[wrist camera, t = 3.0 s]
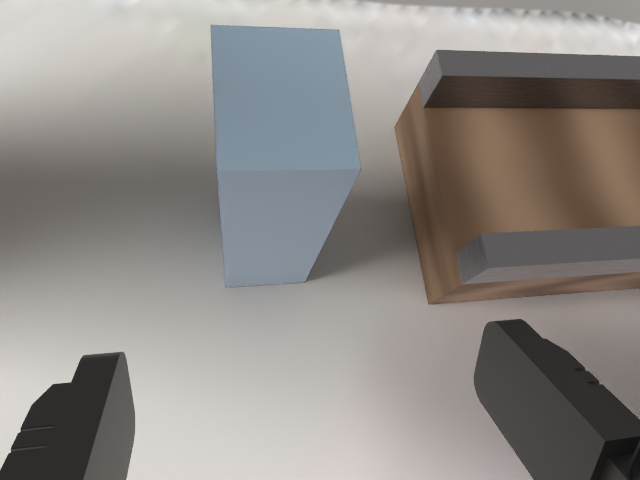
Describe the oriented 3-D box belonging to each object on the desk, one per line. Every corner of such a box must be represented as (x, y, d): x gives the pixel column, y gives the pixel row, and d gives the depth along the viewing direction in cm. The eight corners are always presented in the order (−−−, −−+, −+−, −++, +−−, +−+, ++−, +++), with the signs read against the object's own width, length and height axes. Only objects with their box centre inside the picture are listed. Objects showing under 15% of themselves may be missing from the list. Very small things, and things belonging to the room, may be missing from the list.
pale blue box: (225, 287, 24) (216, 171, 13) (221, 197, 25) (210, 25, 14) (304, 282, 25) (361, 168, 13) (295, 195, 26) (339, 29, 15)
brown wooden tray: (428, 304, 25) (489, 267, 19) (394, 126, 29) (436, 49, 23) (652, 286, 28) (766, 250, 22) (594, 126, 32) (679, 57, 26)
